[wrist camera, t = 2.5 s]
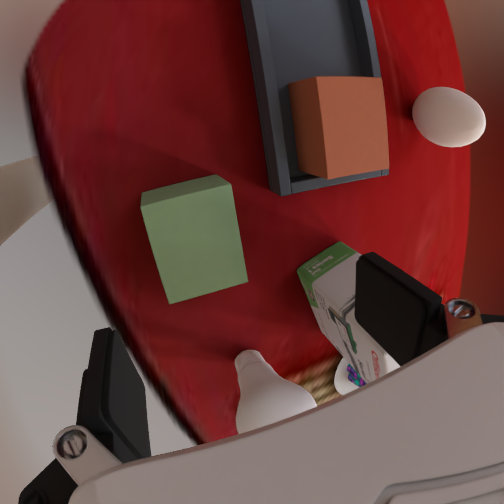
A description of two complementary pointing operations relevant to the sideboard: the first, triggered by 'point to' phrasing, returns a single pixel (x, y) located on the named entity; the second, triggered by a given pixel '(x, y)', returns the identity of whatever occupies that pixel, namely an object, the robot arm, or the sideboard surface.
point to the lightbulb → (266, 394)
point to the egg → (448, 117)
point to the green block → (194, 237)
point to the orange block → (339, 125)
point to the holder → (303, 71)
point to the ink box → (342, 310)
